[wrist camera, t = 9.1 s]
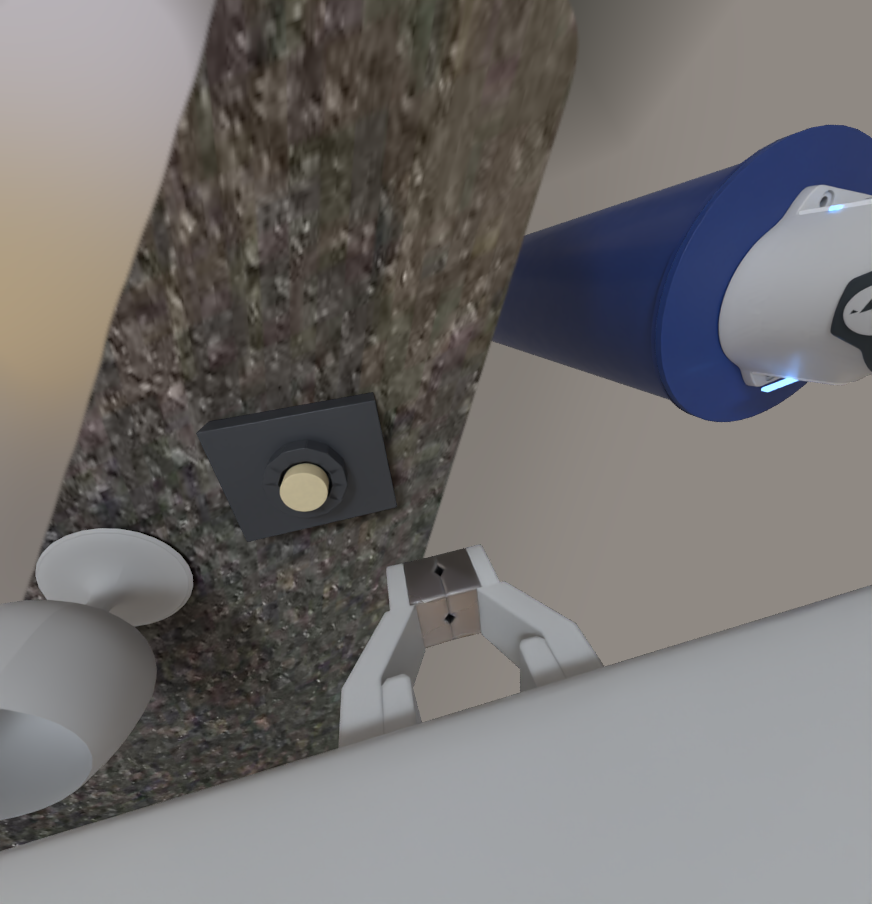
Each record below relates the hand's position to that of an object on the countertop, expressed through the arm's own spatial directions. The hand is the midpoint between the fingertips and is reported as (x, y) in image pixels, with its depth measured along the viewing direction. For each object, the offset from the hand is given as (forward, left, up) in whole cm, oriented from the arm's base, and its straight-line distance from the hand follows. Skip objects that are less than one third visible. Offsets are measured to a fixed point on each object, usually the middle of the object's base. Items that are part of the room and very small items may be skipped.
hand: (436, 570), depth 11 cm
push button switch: (+8, +6, -19) cm, 21 cm away
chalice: (+28, +14, -23) cm, 39 cm away
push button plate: (+8, +6, -23) cm, 25 cm away
